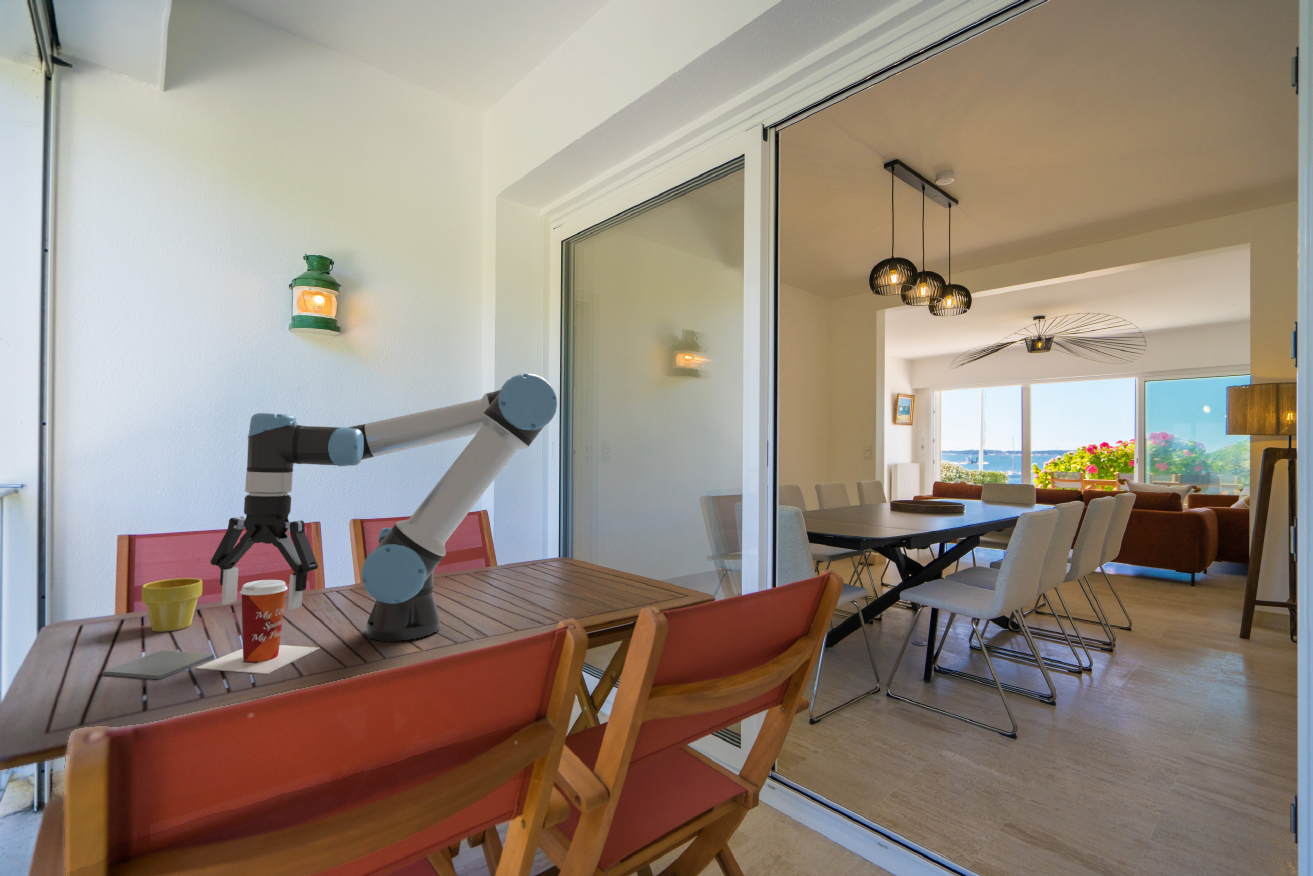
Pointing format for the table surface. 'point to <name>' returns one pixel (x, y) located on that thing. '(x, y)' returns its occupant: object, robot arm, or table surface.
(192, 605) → the plant pot
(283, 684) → the table surface
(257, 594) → the paper cup
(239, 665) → the tile
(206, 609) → the table surface
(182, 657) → the slate coaster
